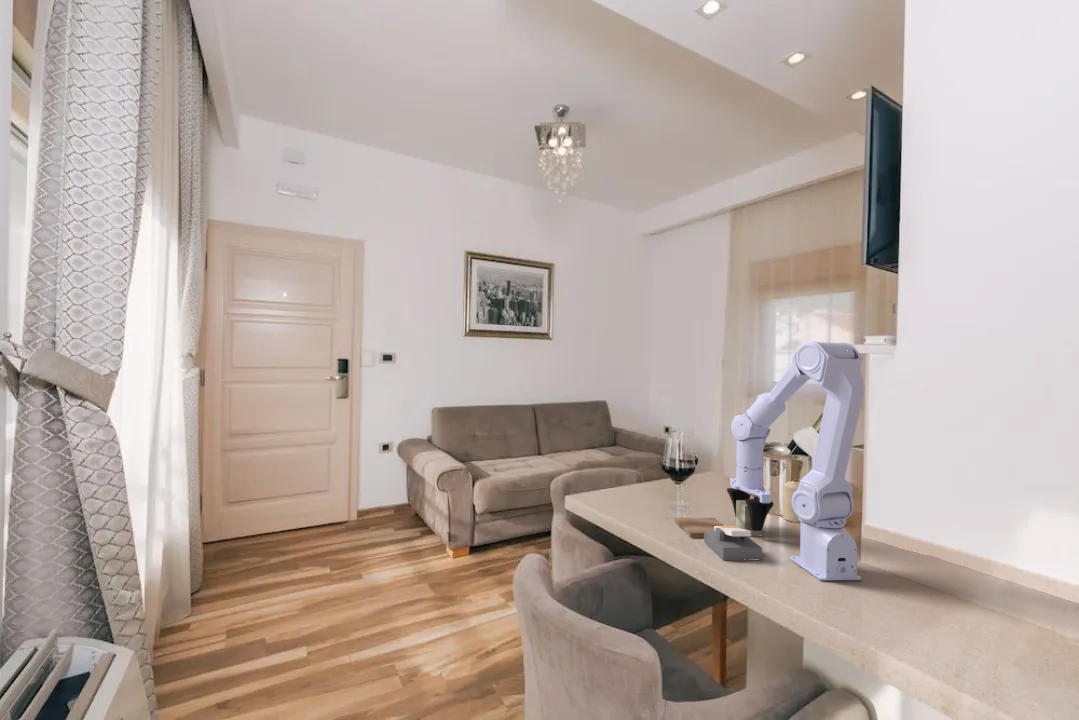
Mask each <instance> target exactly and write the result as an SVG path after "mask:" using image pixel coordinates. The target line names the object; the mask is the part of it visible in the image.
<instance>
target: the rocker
mask: <svg viewBox="0 0 1079 720" xmlns="http://www.w3.org/2000/svg"><path fill="white" fill-rule="evenodd" d="M716 528H720V529H721V530H723V531H724V534H726V535H729V536H749V537H752V536H751V531H749V530H745V529H741V528H738V527H736V526H734V525H724V526H714V529H715V531H716Z"/></svg>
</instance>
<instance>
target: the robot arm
mask: <svg viewBox="0 0 1079 720" xmlns="http://www.w3.org/2000/svg"><path fill="white" fill-rule="evenodd" d="M847 350H848V351H847ZM863 359H864V357H863V356H862V354H860V352H859V351H858V350H857V349H856V348H855V347H854V345H852V344H850V343H848V342H821V341H814V340H808V341H805V342H803V343H802V344H801V345H799V347H798V348H797V350H796V351H795V352H794V353H793V354H792V355H791V363H790V365H789V366H788V367H787V369H786V370H785V372H784V373H783V375H781V377H780V378H779V380H778V381H777V383H776V384H775V385H774V386H773V388H772V390H771V391H770V392H768V391H767V392H762V393H760V394H759V393H758V395H757V396H756V400H755V402H753V404H752V405H751V406H750V407H749V408H747V409H746V410H745V413H743V414H738V415H735V416H734V417H733V419H732V421H731V426H730V429H731V434H732V435H733V437H734V438H735V439H736V450H735V451H736V458H735V459H736V460H735V461H736V463H735V465H736V466H735V468H736V469H735V471H736V472H735V477H730V479H729V483H730V487H729V488H728V487H727V488H726V491H727V494H728V495H729V497H730V500H731V503H732V507H733V511H734V512H733V513H734V516H735V517H736V500H745V501H746V504H747V506H748V509H749V514H750V523H751V529H752V530H753V531H761V532H763V528H764V525H765V522H766V519H767V516H768V514H769V513H770V510H771V509H772V508H773V507H774V502H773V501H772V500H771V498H772V496H771V493H769V492H768V491H767V490H766V488H765V487H764V486H763V485H764V481H763V480H764V448H765V446H766V443H767V442H766V440H767V439H768V437H769V436H770V432H771V428H770V427H771V426H772V424H774V423H775V422H776V420H778V418H779V417H780V416H781V415H782V414H783V413H784V412H785V411H786V401H788V400H789V399H790V398H791V397H792V396H793V395H795V393H796V392H797V391H799V389H800V388H801V387H802V386H803V385H805V384H806V383H807V382H808V381H809V380H813V381H814V382H815V383H817V384H818V385H819V386H821V388H822V389H823V391H825V393H826V398H825V403H824V406H823V407H824V409H823V413H822V417H821V422H820V426H819V431H818V435H817V436H818V437H817V441H816V446H815V451H814V456H813V460H812V464H811V468H810V471H809V472H808V473H807V474H805V475H804V476H803V477H802V478H801V479H800V483H799V487H798V489H797V490H796V491H795V492H794V493H793V496H792V507H793V510H794V512H795V514H796V515H797V516H798V520H800V521H801V523H800V528H799V529H800V530H799V531H800V532H799V533H800V535H799V537H800V538H799V539H800V540H799V541H800V542H799V543H800V544H799V555H790V556H789V559H790V560H791V561H792V562H794V563H795V564H797V565H798V566H800V567H802V568H803V569H804V570H805V571H807V572H808V573H809V574H811V575H813V576H814V577H815V578H816V579H818V580H820V581H862V577H861V576H860V575H858V546H857V545H858V544H857V542H856V540H855V539H854V538H853V537H852V536H851V535H850V534H849V533H848V532H847V531H846V528H845V524H847V519H848V518H849V517H850V516H852V515H853V513H854V508H855V504H854V499H853V491H854V486H852V484H851V483H850V482H848V480H847V479H846V473H847V470H848V467H849V466H848V465H849V461H850V456H851V452H852V448H853V443H854V439H855V434H856V430H857V425H858V420H859V417H860V414H861V412H860V411H861V408H862V403H863V398H864V395H865V384H864V380H863V379H864V378H863V375H862V369H861V368H862V364H863ZM751 496H752V497H753V498H751Z"/></svg>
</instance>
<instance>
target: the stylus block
mask: <svg viewBox="0 0 1079 720" xmlns="http://www.w3.org/2000/svg"><path fill="white" fill-rule="evenodd" d="M735 527H738V528H745V529H746V530H749V531H751V536H750V537H760V536H759V535H761V536H762V531H753V530H752V529H751V523H750V514H749V509H748V506H747V504H746V501H745V500H736V516H735Z"/></svg>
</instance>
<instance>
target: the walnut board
mask: <svg viewBox="0 0 1079 720" xmlns="http://www.w3.org/2000/svg"><path fill="white" fill-rule="evenodd" d="M674 523H675V524H676V525H677V526H678V527H679V528H681V531H683V532H684V533H685V532H686V533H685V534H686V535H687V534H688V535H689V536H690V537H691V538H690V537H689V538H690V539H704V531H715V529H714V526H725V525H724V524H723V523H721V522H720V521H719V520H718V519H716V518H714V517H675V518H674ZM698 537H700V538H698ZM701 537H703V538H701Z"/></svg>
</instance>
